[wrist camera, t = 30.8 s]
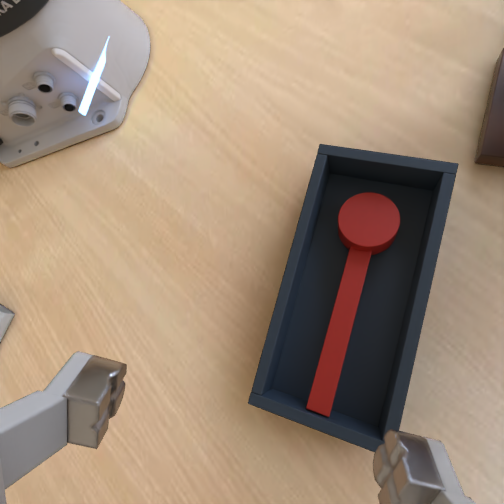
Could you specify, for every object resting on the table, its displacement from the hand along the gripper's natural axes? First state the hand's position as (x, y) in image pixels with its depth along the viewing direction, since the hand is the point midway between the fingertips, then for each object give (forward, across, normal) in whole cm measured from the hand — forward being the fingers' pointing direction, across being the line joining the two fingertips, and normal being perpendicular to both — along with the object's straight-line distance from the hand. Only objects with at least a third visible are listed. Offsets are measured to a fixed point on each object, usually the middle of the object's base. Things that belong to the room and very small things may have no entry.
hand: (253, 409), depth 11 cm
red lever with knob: (+16, -7, +5) cm, 18 cm away
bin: (+18, -7, +5) cm, 19 cm away
